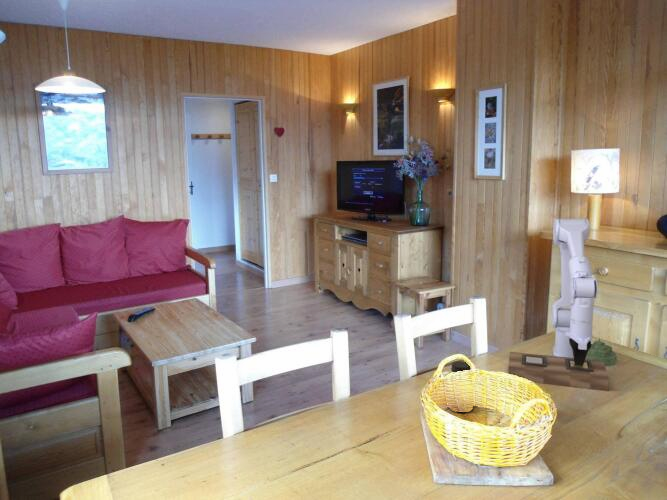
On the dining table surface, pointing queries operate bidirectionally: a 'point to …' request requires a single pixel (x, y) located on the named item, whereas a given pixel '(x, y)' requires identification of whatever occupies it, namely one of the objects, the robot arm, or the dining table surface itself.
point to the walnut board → (559, 371)
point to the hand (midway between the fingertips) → (578, 364)
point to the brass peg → (578, 365)
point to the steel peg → (533, 360)
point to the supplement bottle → (459, 366)
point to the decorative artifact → (602, 353)
